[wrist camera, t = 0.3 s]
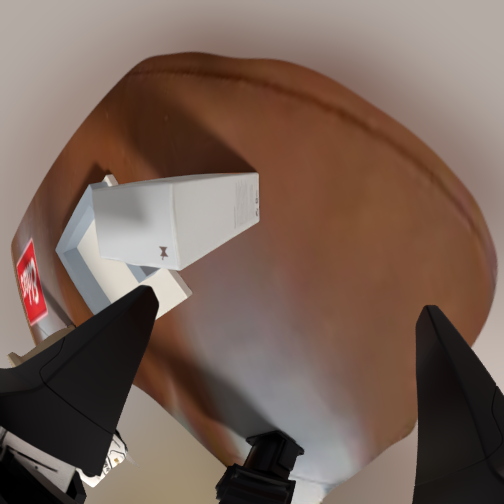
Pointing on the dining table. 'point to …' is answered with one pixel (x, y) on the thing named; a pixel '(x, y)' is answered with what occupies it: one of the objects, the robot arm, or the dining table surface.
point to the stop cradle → (110, 264)
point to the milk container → (107, 461)
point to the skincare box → (173, 217)
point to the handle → (39, 346)
